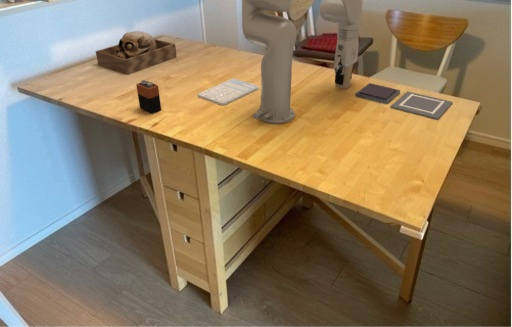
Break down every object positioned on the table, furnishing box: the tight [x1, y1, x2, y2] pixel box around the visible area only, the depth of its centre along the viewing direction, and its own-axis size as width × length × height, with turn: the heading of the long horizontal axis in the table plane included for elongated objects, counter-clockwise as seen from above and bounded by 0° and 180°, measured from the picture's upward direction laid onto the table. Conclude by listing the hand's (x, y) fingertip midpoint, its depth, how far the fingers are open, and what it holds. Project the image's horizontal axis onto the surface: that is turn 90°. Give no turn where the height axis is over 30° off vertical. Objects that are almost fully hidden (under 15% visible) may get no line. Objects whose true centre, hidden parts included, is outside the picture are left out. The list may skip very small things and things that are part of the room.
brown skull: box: [116, 30, 156, 59], centre depth 187 cm, size 16×18×14 cm
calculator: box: [197, 78, 260, 107], centre depth 159 cm, size 13×20×2 cm, turn 140°
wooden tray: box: [95, 38, 177, 75], centre depth 189 cm, size 27×20×6 cm
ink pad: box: [354, 82, 401, 105], centre depth 157 cm, size 12×12×2 cm
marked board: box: [389, 91, 453, 121], centre depth 149 cm, size 16×16×1 cm
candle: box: [334, 64, 353, 90], centre depth 162 cm, size 6×6×10 cm
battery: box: [135, 79, 162, 114], centre depth 145 cm, size 4×7×10 cm, turn 48°
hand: (343, 80), depth 163 cm, fingers open, 6 cm apart
